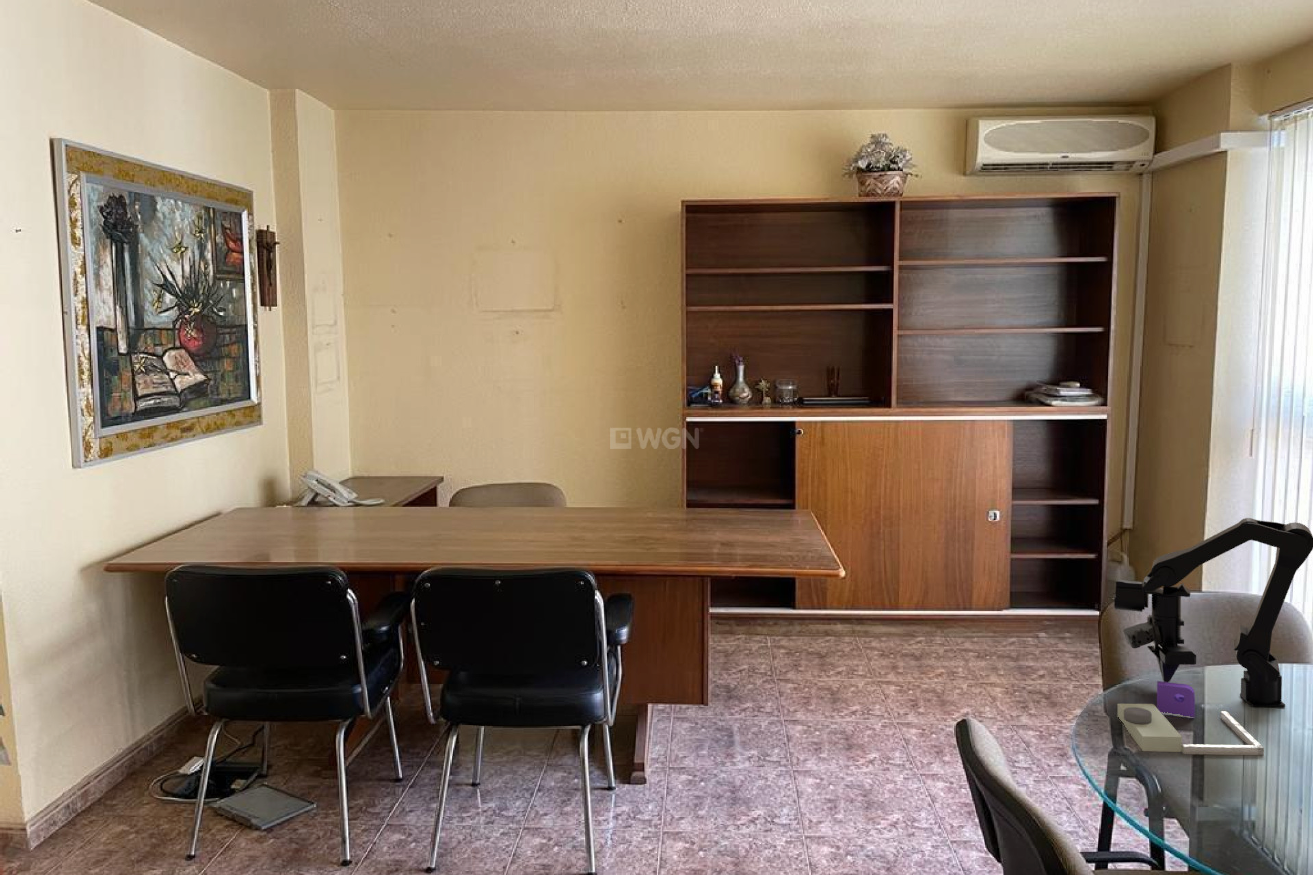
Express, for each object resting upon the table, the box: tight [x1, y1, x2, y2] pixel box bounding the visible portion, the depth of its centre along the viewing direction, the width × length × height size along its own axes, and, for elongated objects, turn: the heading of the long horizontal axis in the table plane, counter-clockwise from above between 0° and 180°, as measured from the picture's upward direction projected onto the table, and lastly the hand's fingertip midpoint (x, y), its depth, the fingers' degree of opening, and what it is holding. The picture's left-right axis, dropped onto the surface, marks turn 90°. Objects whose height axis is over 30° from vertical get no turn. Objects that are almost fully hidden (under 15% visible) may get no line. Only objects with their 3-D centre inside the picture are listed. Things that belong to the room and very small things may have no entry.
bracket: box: [1156, 680, 1196, 718], centre depth 204 cm, size 12×7×7 cm, turn 151°
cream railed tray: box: [1117, 703, 1265, 756], centre depth 191 cm, size 22×17×4 cm
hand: (1166, 681), depth 213 cm, fingers closed
